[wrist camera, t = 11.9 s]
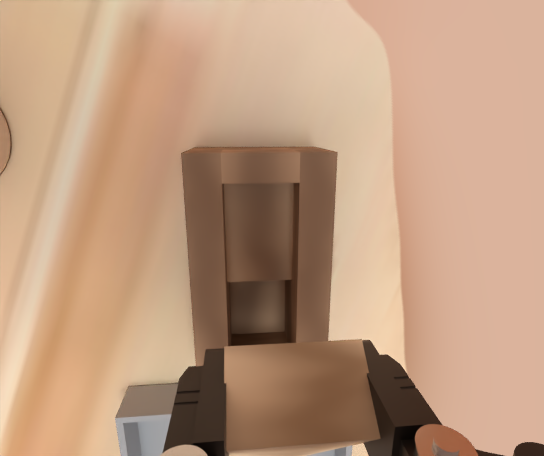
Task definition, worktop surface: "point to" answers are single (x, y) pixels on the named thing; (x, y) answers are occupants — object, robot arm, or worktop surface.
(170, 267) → the worktop surface
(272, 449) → the maple bar
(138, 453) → the slate tray
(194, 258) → the walnut frame
